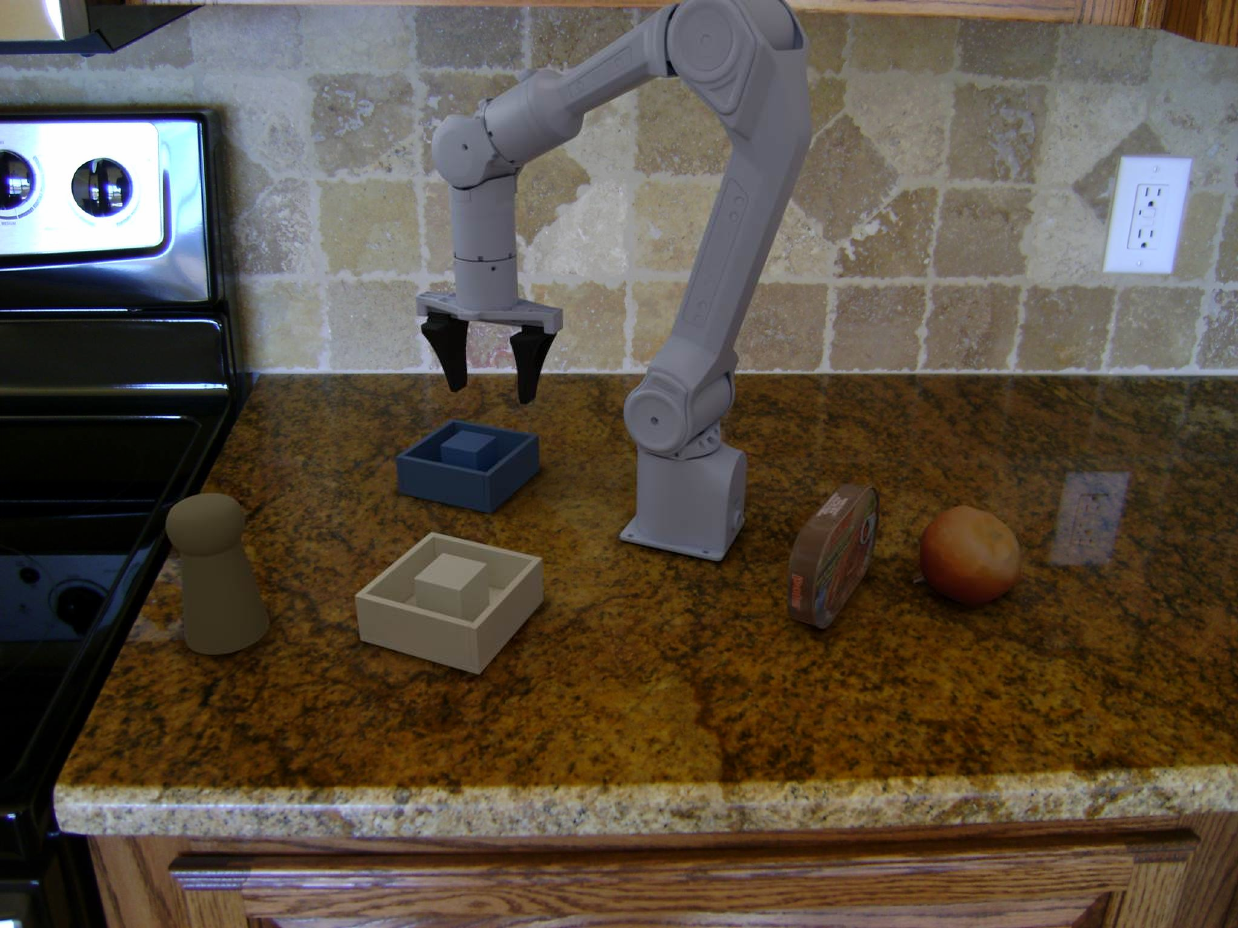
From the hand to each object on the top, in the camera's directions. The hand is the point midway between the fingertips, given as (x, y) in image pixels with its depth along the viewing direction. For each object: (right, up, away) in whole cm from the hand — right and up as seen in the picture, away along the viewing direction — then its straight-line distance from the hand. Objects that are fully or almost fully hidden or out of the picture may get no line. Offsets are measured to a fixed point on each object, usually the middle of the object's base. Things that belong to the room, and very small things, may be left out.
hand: (492, 394), depth 90 cm
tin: (+29, -18, -14) cm, 37 cm away
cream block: (0, -18, -18) cm, 26 cm away
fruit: (+41, -17, -14) cm, 46 cm away
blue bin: (-3, -8, +3) cm, 9 cm away
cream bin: (0, -19, -18) cm, 26 cm away
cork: (-17, -19, -20) cm, 33 cm away
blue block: (-3, -8, +3) cm, 9 cm away
